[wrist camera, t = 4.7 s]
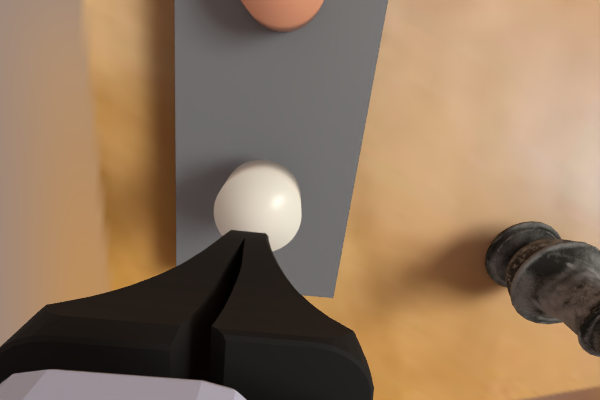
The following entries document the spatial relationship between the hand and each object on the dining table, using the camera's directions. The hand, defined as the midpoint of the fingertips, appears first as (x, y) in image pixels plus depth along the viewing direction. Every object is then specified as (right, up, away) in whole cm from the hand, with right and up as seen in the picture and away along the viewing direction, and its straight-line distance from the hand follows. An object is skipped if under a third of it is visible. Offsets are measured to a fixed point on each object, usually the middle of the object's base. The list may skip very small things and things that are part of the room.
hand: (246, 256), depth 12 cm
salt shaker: (+18, -2, +12) cm, 22 cm away
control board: (0, +8, +8) cm, 11 cm away
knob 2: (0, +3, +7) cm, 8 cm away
